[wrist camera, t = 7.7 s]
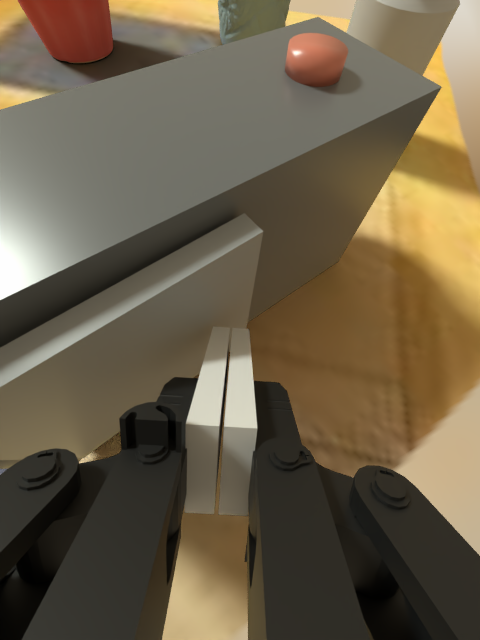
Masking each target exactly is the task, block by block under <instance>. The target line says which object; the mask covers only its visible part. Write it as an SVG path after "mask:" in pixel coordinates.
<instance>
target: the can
mask: <svg viewBox="0 0 480 640" xmlns="http://www.w3.org/2000/svg"><path fill="white" fill-rule="evenodd" d="M459 5H460V1H459V0H356V2H355V6H354V9H353V12H352V16H351V19H350V23H349V26H348V30H347V34H349V35H351V36H353V37H354V38H356V39H358V40H360V41H361V42H363V43H365V44H367V45H368V46H370V47H372V48H374V49H376V50H377V51H379V52H381V53H383V54H384V55H386V56H388V57H390V58H392V59H393V60H395V61H397V62H399V63H400V64H402V65H404V66H406V67H407V68H409V69H411V70H413V71H415V72H416V73H418V74H420V75H423V73H424V71H425V70H426V68H427V66H428V64H429V62H430V60H431V58H432V56H433V54H434V52H435V50H436V49H437V47H438V45H439V43H440V41H441V39H442V37H443V35H444V33H445V31H446V29H447V27H448V26H449V24H450V22H451V20H452V18H453V16H454V14H455V12H456V10H457V8H458V7H459Z"/></svg>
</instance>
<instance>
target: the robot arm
mask: <svg viewBox="0 0 480 640" xmlns="http://www.w3.org/2000/svg"><path fill="white" fill-rule="evenodd" d="M229 336H230V328H228V327H214V326H213V329H212V332H211V336H210V340H209V343H208V347H207V350H206V354H205V357H204V361H203V364H202V368H201V371H200V375H199V378H183V377H174V378H172V379H171V380H170V381H168V382H167V383H166V384H165V385H164V387H163V389H162V391H161V393H160V396H159V397H158V399H157V401H156V402H147V403H143V404H140V405H136V406H134V407H132V408H131V409H129V410H127V411H126V412H125V413H124V414H123V415H122V416H121V417H120V418H119V423H120V436H121V449H122V450H121V452H120V453H119V454H117V455H115V456H112V457H109V458H105V459H101V460H96V461H90V462H85V463H80V464H79V461H78V459H77V457H76V455H75V453H73V452H71V451H69V450H67V449H57V448H54V449H49V450H43V451H40V452H37V453H35V454H32V455H29V456H27V457H25V458H24V459H22V460H20V461H19V462H17V463H16V464H14V465H13V466H11V467H10V468H9V469H7V470H6V471H5V472H4V473H2V474H1V475H0V640H162V635H163V630H164V624H165V619H166V614H167V608H168V603H169V597H170V592H171V587H172V581H173V576H174V571H175V565H176V560H177V554H178V549H179V544H180V538H181V519H182V514H183V509H184V504H185V513H200V514H214V510H215V500H216V489H217V478H218V468H219V457H220V446H221V436H222V425H223V415H224V404H225V393H226V383H227V368H228V352H229ZM248 509H249V527H248V536H247V545H246V554H245V562H247V577H248V640H480V556H479V555H478V554H477V552H476V551H475V550H474V549H473V548H472V547H471V546H470V545H469V544H468V543H467V542H466V541H465V539H463V537H462V536H461V535H460V534H459V533H458V532H457V531H456V530H455V529H454V528H453V526H452V525H451V524H450V523H449V522H448V521H447V520H446V519H445V518H444V517H443V516H442V515H441V514H440V513H439V511H438V510H437V509H436V508H435V507H434V506H433V505H432V504H431V503H430V502H429V500H428V499H427V498H426V497H425V496H424V495H423V494H422V493H421V492H420V491H419V490H418V489H417V488H416V487H415V486H414V485H413V484H412V483H411V482H410V481H409V480H407V479H406V478H405V477H404V476H402V475H400V474H398V473H396V472H395V471H393V470H391V469H387V468H384V467H381V466H365V467H363V468H360V469H359V470H358V471H357V473H356V474H355V476H354V478H353V477H350V476H346V475H343V474H340V473H337V472H334V471H331V470H329V469H327V468H324V467H323V466H321V465H319V464H318V463H316V462H315V459H314V458H313V456H312V454H311V452H310V451H309V450H308V449H307V448H306V447H304V446H303V445H302V443H301V440H300V436H299V432H298V429H297V425H296V422H295V418H294V415H293V411H292V408H291V404H290V400H289V397H288V393H287V391H286V390H285V389H284V388H283V387H282V386H281V384H280V383H277V382H262V381H253V369H252V357H251V345H250V332H249V329H243V328H232V338H231V350H230V362H229V373H228V385H227V397H226V408H225V420H224V433H223V449H222V465H221V480H220V496H219V512H218V515H237V516H248Z"/></svg>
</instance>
